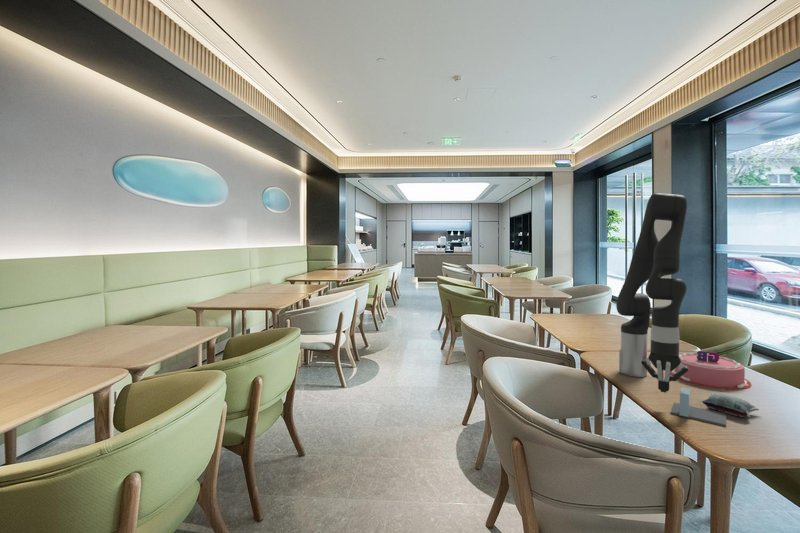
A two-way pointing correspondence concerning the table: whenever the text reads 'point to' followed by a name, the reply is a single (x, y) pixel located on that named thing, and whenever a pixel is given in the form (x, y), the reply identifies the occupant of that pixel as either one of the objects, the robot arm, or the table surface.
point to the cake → (713, 371)
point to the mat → (702, 415)
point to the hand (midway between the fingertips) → (663, 391)
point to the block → (684, 402)
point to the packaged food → (729, 405)
